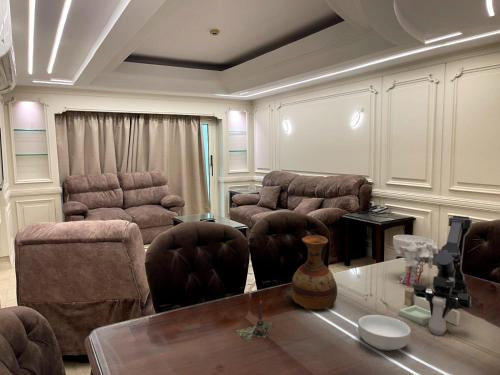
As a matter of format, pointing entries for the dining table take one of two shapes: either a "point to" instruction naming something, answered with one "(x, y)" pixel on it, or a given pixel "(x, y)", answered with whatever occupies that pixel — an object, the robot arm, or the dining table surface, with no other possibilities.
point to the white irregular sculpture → (414, 255)
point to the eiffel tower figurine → (256, 328)
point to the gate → (423, 303)
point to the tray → (416, 314)
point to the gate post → (408, 297)
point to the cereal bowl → (384, 332)
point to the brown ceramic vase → (314, 277)
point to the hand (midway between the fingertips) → (437, 316)
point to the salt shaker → (438, 317)
